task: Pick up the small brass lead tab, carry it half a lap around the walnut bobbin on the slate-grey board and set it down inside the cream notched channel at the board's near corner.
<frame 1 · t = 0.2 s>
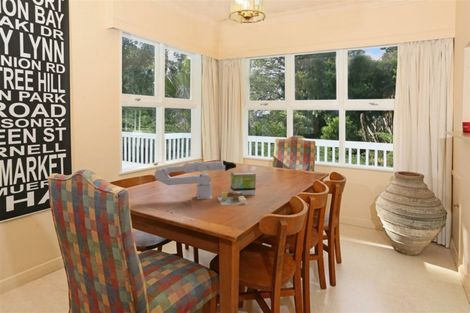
hand: (235, 165, 205), 21 cm above the table, tool horizontal, fingers open, 7 cm apart
lead tab: (224, 199, 197), point 1 cm above the table, touching winding board
winding board: (232, 201, 196), on the table
tea box: (242, 194, 215), on the table
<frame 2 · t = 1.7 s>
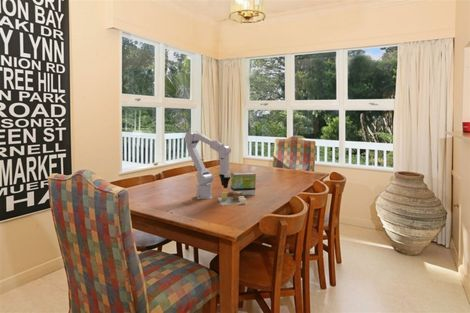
hand: (224, 186, 196), 9 cm above the table, tool pointing down, fingers open, 7 cm apart
nothing on the table moved.
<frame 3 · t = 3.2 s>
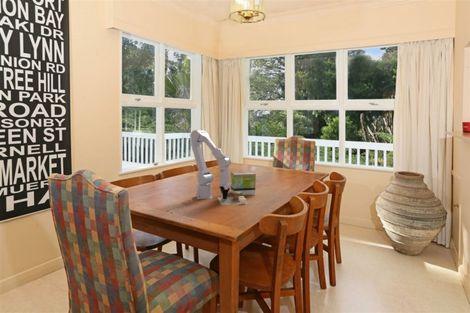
hand: (224, 198, 197), 2 cm above the table, tool pointing down, fingers closed on lead tab, 3 cm apart
lead tab: (224, 199, 197), point 1 cm above the table, touching gripper, winding board
everything else where it was.
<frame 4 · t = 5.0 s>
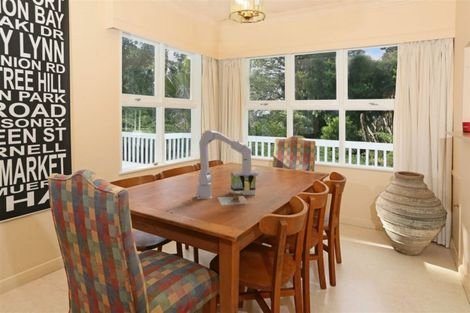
hand: (246, 187, 196), 8 cm above the table, tool pointing down, fingers closed on lead tab, 3 cm apart
lead tab: (246, 189, 196), point 7 cm above the table, touching gripper
everything else where it was.
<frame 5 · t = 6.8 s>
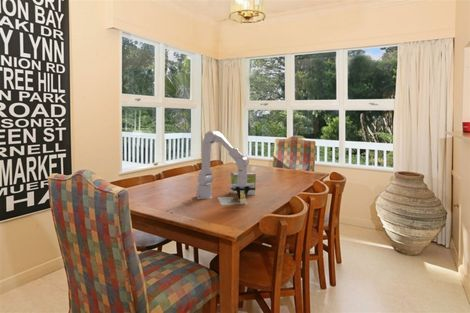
hand: (242, 198, 191), 3 cm above the table, tool pointing down, fingers closed on lead tab, 3 cm apart
lead tab: (242, 201, 191), point 1 cm above the table, touching gripper
everything else where it was.
when the fingers open (3 cm above the table, at t = 6.9 s): lead tab stays where it is, resting on winding board.
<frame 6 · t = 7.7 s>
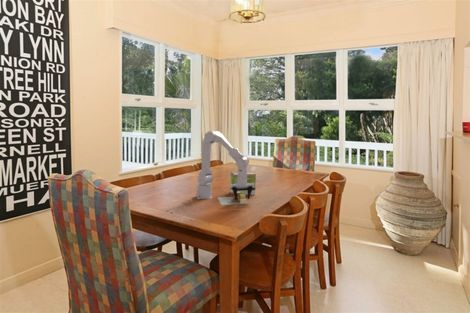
hand: (242, 198, 191), 3 cm above the table, tool pointing down, fingers open, 7 cm apart
lead tab: (242, 202, 191), point 1 cm above the table, touching winding board
everything else where it was.
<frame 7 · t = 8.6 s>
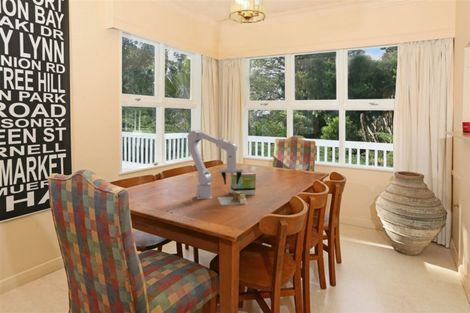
hand: (231, 184, 198), 10 cm above the table, tool pointing down, fingers open, 7 cm apart
nothing on the table moved.
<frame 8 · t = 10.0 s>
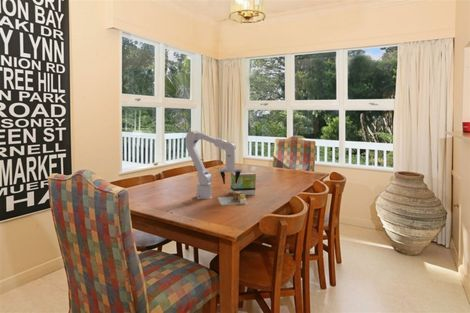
hand: (230, 183, 199), 10 cm above the table, tool pointing down, fingers open, 7 cm apart
nothing on the table moved.
at the end: lead tab 0.2 cm from the target spot, point 0.6 cm above the table; lead tab tilted 0°; the gripper is holding nothing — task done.
